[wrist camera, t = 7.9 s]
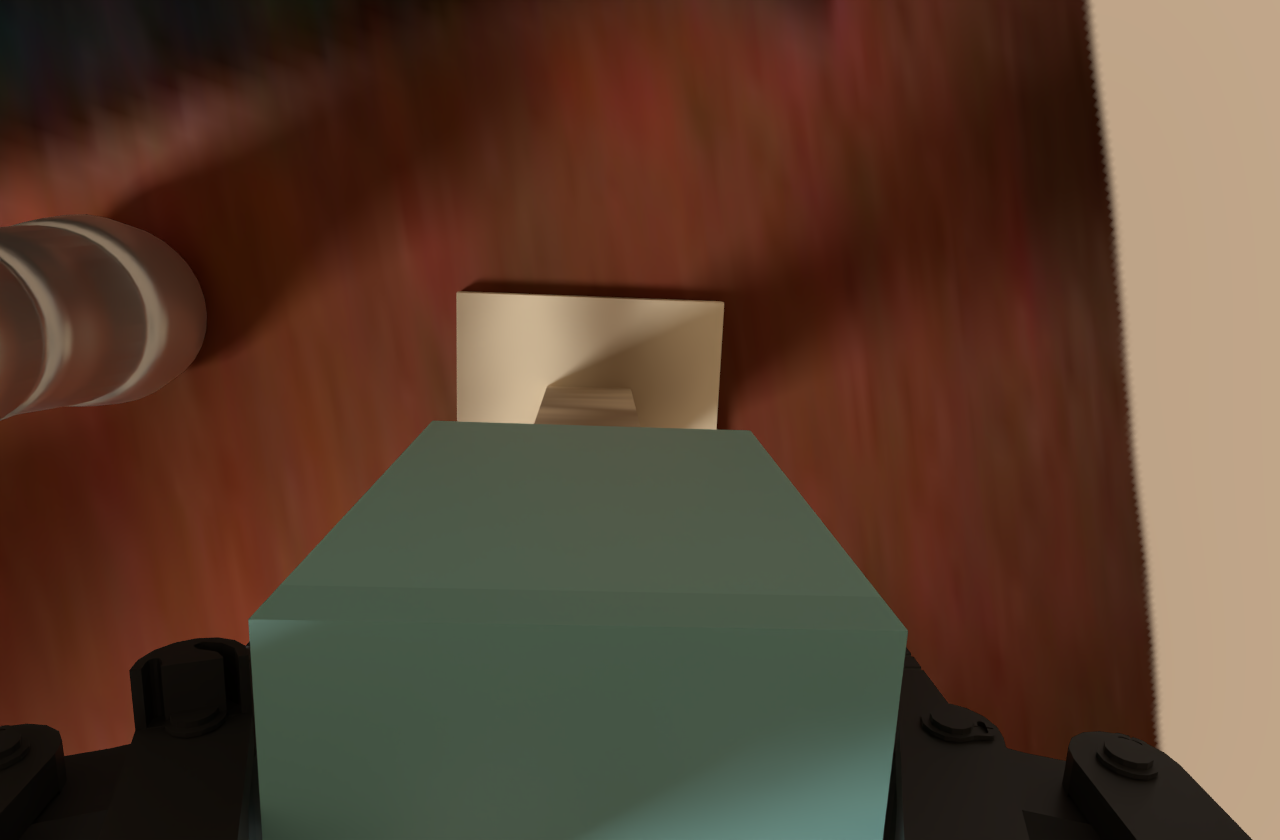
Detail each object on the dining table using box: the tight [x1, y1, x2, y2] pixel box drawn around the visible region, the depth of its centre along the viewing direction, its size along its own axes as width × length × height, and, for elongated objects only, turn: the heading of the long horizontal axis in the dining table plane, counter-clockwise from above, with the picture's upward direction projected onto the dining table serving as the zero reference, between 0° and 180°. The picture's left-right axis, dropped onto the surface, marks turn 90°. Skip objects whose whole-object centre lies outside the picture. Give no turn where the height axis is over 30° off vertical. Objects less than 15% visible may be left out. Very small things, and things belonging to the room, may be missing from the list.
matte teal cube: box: [248, 421, 908, 840], centre depth 13 cm, size 6×6×9 cm
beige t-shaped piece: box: [457, 291, 724, 430], centre depth 28 cm, size 10×10×10 cm
